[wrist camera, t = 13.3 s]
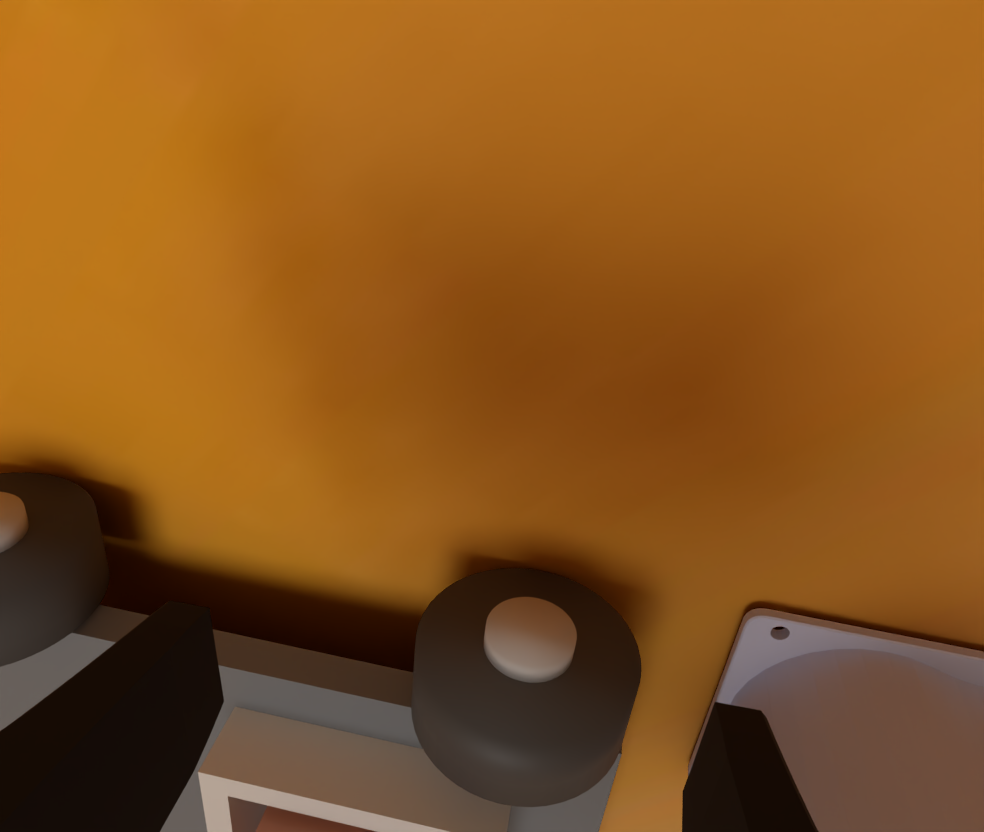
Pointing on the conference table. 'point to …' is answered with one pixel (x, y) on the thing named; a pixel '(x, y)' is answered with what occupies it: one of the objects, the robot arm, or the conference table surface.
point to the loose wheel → (46, 562)
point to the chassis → (405, 716)
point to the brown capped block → (300, 823)
